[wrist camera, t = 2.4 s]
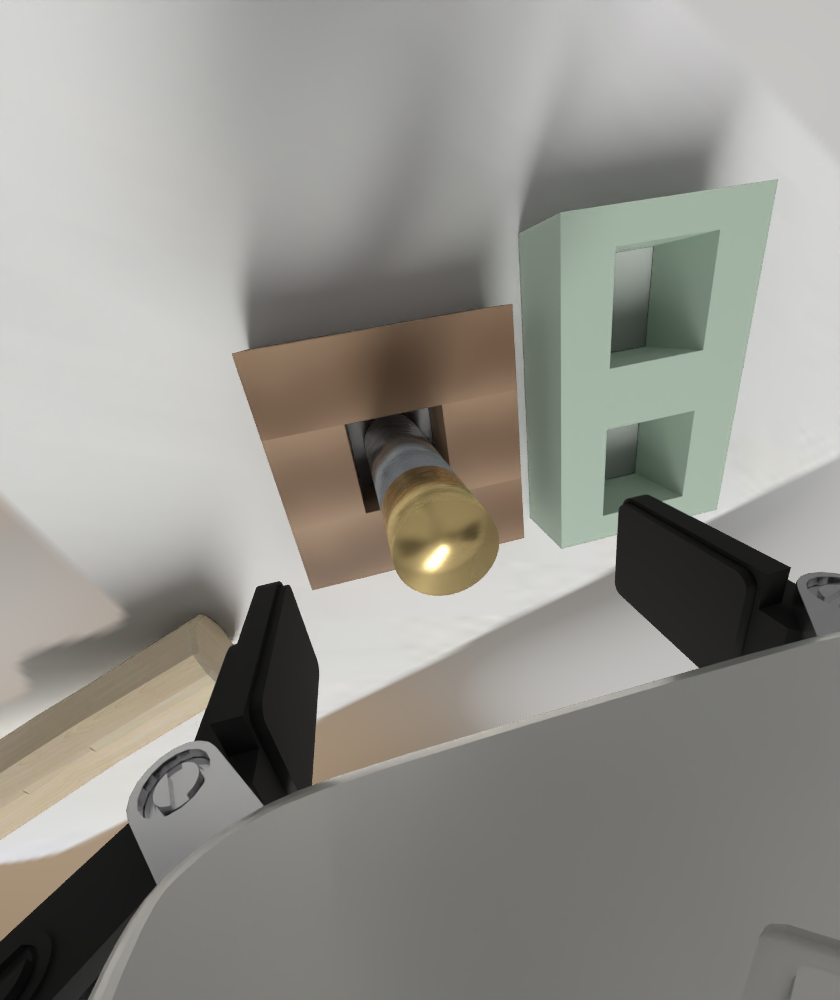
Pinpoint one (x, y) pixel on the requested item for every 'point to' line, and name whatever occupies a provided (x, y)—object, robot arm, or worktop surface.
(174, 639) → the hammer
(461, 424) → the socket block
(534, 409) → the frame
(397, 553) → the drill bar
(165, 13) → the worktop surface
